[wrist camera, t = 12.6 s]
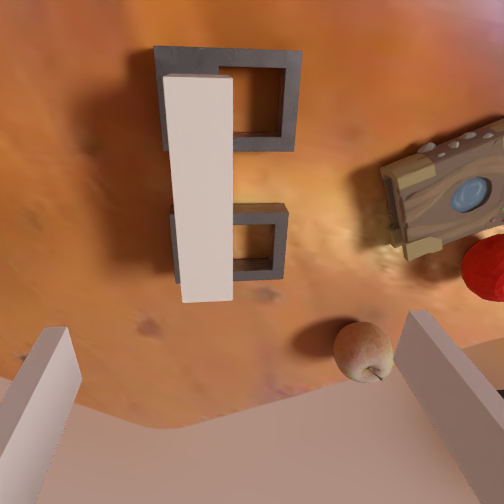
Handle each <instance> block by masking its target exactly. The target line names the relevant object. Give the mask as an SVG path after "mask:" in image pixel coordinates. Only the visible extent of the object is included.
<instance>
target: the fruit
mask: <svg viewBox="0 0 504 504" xmlns="http://www.w3.org/2000/svg"><path fill="white" fill-rule="evenodd" d="M333 353H334V358H335V361H336V363H337V366H338V367H339V369H340V370H341V372H342V373H343V374H344V375H345V376H346V377H348V378H350V379H352V380H354V381H358V382H363V383H372V382H377V381H379V380H381V381H383V378H385V377H386V376H387V375H388V374H389V373H390V371H391V370H392V367H393V364H394V361H393V357H394V355H393V349H392V345H391V342H390V340H389V338H388V336H387V335H386V334H385V332H384V331H383V330H382V329H380V328H379V327H377V326H376V325H374V324H371V323H368V322H356V323H352V324H349V325H347V326H345V327H343V328H342V329H341V330H340V331H339V333H338V334H337V336H336V339H335V341H334V346H333Z"/></svg>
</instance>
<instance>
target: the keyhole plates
mask: <svg viewBox="0 0 504 504" xmlns="http://www.w3.org/2000/svg"><path fill="white" fill-rule="evenodd" d="M153 47H154V58H155V69H156V79H157V90H158V100H159V111H160V122H161V132H162V143H163V151H169V142H168V131H167V119H166V108H165V96H164V85H163V76H166V75H169V74H209V75H219V66H235V67H268V68H280V83H279V99H278V116H277V132H233V151H273V152H294V145H295V133H296V121H297V109H298V97H299V85H300V74H301V62H302V51H289V50H261V49H233V48H205V47H177V46H153ZM288 216H289V212H288V210H287V208H286V206H285V204H284V203H275V204H233V225H253V224H271V234H270V251H269V259H244V260H233V281H251V280H275V279H283V275H284V263H285V251H286V239H287V227H288ZM169 217H170V228H171V238H172V249H173V260H174V270H175V281H176V284H178V283H181V281H180V269H179V258H178V246H177V235H176V223H175V212H174V205H171V209H170V214H169Z"/></svg>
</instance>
